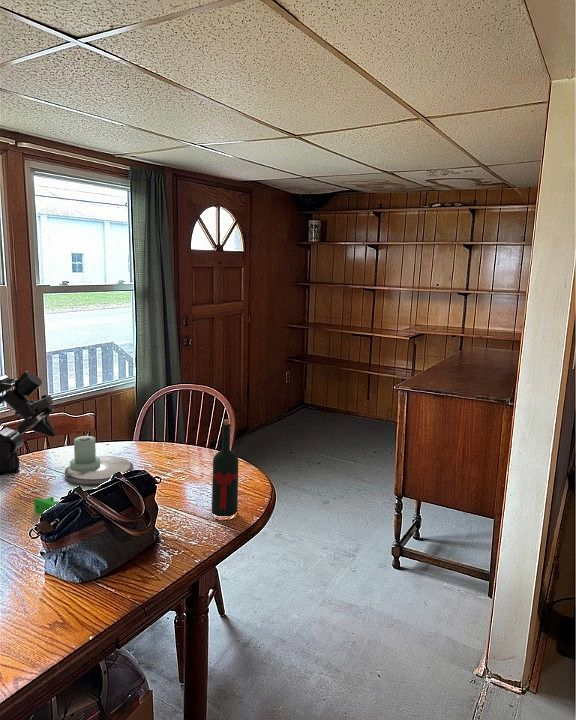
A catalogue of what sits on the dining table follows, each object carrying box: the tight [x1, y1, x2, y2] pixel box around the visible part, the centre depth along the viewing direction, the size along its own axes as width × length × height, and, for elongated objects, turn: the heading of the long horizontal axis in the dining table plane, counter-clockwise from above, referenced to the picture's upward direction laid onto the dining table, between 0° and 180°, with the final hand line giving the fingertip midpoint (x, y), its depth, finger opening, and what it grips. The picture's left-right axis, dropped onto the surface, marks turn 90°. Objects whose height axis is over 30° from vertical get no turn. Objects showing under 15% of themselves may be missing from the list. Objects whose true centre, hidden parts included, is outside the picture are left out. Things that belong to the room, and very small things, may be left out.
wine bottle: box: [211, 418, 239, 516], centre depth 152 cm, size 8×10×30 cm
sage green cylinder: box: [69, 435, 100, 471], centre depth 182 cm, size 10×10×10 cm
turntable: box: [64, 455, 134, 487], centre depth 183 cm, size 23×23×2 cm
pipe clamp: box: [33, 496, 60, 515], centre depth 151 cm, size 11×4×5 cm, turn 63°
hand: (54, 435), depth 180 cm, fingers closed
